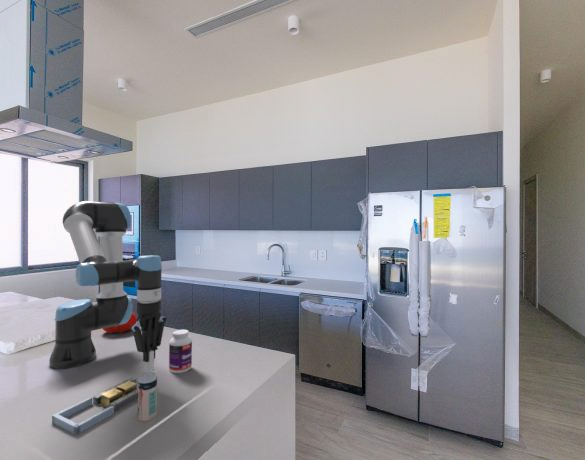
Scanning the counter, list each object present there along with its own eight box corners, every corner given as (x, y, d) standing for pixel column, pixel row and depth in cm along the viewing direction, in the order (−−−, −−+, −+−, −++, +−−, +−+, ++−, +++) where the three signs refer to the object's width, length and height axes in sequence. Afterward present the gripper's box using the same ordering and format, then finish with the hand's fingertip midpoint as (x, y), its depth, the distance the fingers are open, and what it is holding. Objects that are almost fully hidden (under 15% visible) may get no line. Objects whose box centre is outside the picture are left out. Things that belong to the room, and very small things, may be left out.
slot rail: (93, 404, 91) (93, 396, 91) (132, 384, 102) (132, 377, 102) (114, 413, 86) (114, 405, 86) (152, 391, 98) (152, 384, 98)
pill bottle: (184, 376, 109) (184, 336, 109) (164, 373, 110) (164, 334, 110) (195, 366, 117) (196, 329, 116) (177, 363, 118) (177, 327, 118)
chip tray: (52, 424, 81) (52, 415, 81) (90, 405, 90) (90, 396, 90) (75, 437, 77) (76, 427, 77) (113, 415, 86) (113, 406, 86)
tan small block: (100, 404, 90) (101, 394, 90) (113, 397, 93) (113, 388, 93) (109, 408, 88) (109, 397, 88) (122, 401, 92) (122, 391, 92)
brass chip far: (116, 396, 94) (116, 386, 94) (128, 389, 98) (128, 380, 98) (125, 399, 93) (125, 389, 92) (136, 392, 96) (136, 383, 96)
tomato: (96, 332, 153) (96, 312, 153) (130, 324, 165) (130, 306, 165) (106, 338, 144) (107, 318, 143) (141, 330, 156) (142, 311, 156)
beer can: (142, 412, 87) (142, 371, 87) (159, 411, 87) (159, 371, 87) (135, 423, 82) (135, 379, 82) (152, 422, 83) (153, 379, 83)
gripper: (139, 306, 95) (139, 380, 95) (172, 298, 106) (172, 364, 106) (124, 303, 98) (124, 375, 98) (157, 296, 110) (157, 360, 110)
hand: (149, 369), depth 102 cm, fingers closed
